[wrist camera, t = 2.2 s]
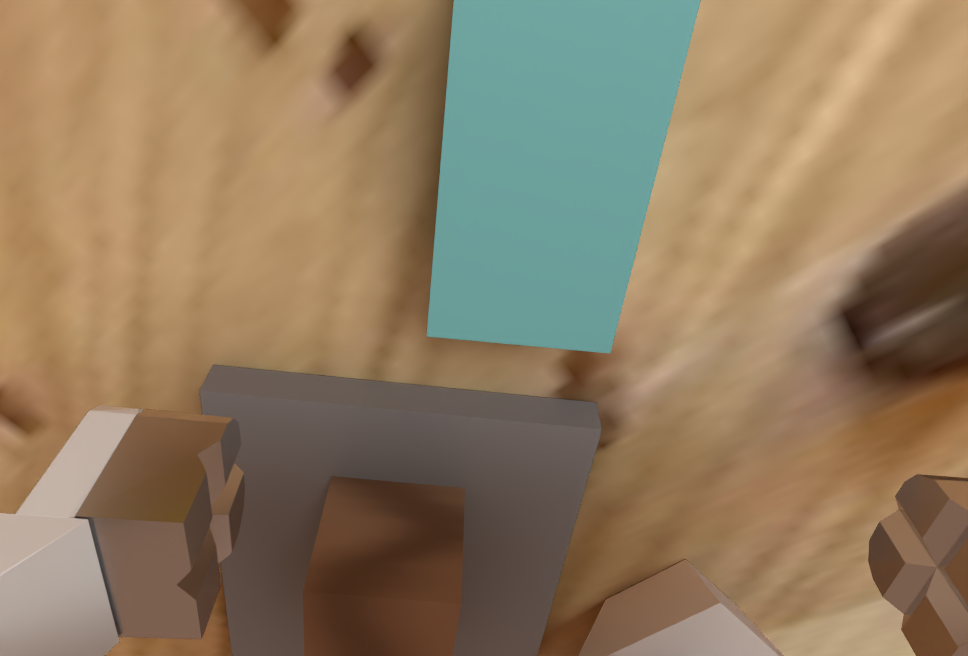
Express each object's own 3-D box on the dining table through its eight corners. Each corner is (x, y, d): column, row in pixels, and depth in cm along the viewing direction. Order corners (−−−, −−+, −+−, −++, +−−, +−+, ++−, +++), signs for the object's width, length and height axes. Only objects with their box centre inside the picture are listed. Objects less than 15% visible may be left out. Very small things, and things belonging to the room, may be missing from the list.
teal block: (652, -37, 19) (702, -8, 14) (587, 265, 23) (610, 353, 19) (462, -61, 18) (456, -38, 14) (436, 250, 23) (426, 336, 19)
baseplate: (596, 402, 26) (601, 429, 25) (528, 652, 35) (530, 681, 34) (213, 364, 25) (199, 390, 24) (241, 630, 34) (232, 660, 33)
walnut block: (464, 488, 27) (461, 604, 22) (443, 630, 32) (436, 747, 27) (331, 476, 26) (302, 591, 22) (330, 621, 31) (306, 739, 27)
